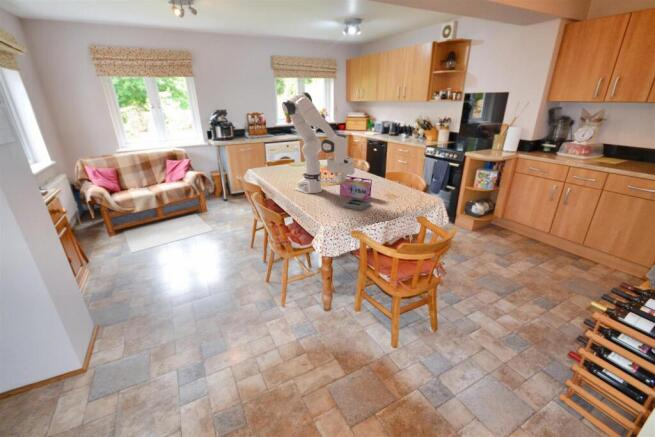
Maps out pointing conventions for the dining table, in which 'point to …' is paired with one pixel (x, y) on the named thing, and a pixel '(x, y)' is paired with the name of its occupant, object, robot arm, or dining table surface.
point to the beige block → (339, 178)
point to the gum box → (356, 187)
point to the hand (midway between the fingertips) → (340, 179)
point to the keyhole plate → (356, 204)
